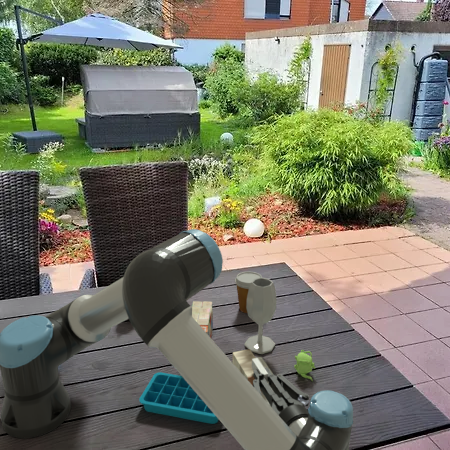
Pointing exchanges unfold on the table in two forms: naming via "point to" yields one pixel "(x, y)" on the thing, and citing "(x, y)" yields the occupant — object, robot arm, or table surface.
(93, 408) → the table surface
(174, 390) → the ice cube tray
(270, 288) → the wineglass
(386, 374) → the table surface
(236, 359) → the birch block
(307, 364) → the green monster figurine
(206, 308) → the stack of blocks
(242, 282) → the disposable coffee cup
